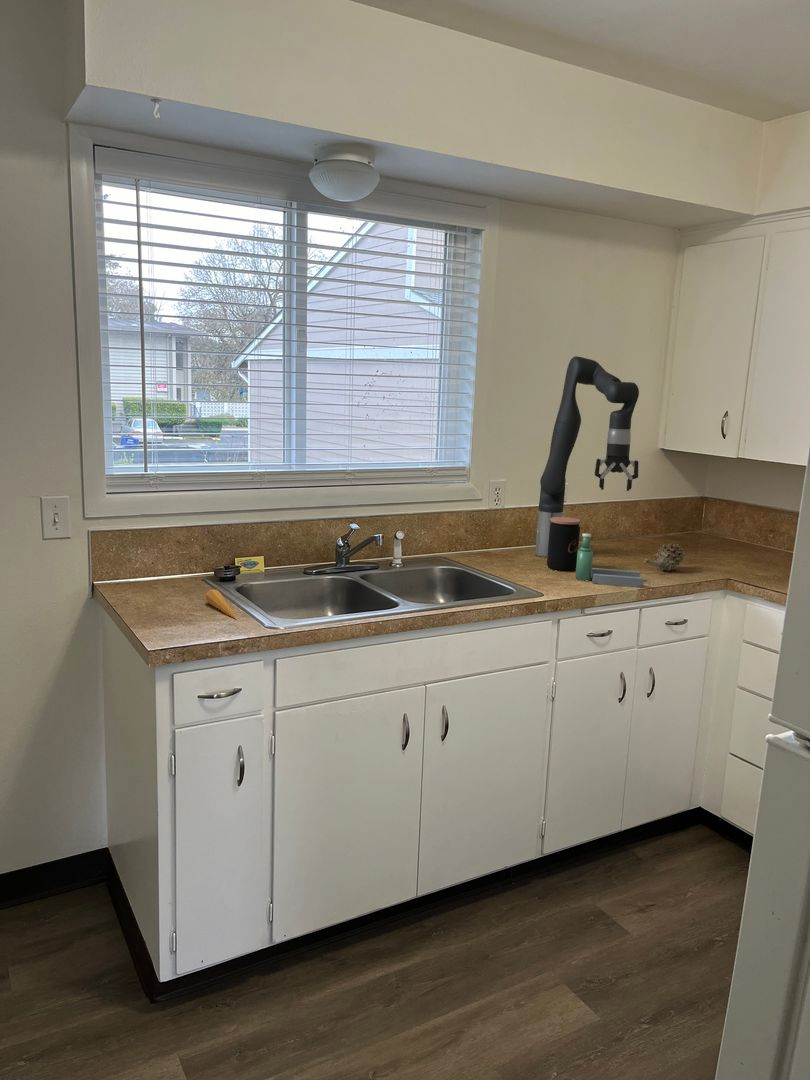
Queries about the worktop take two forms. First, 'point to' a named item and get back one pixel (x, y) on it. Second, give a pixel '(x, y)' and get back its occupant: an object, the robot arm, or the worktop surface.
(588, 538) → the bottle
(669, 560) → the pine cone
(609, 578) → the cradle
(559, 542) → the coffee jar
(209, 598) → the carrot
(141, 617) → the worktop surface
